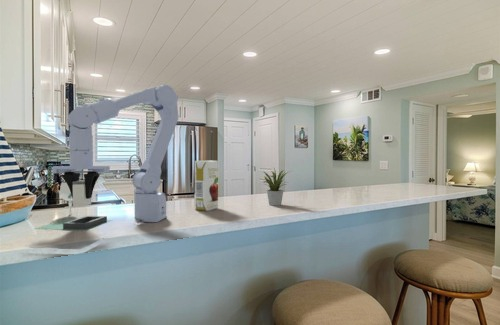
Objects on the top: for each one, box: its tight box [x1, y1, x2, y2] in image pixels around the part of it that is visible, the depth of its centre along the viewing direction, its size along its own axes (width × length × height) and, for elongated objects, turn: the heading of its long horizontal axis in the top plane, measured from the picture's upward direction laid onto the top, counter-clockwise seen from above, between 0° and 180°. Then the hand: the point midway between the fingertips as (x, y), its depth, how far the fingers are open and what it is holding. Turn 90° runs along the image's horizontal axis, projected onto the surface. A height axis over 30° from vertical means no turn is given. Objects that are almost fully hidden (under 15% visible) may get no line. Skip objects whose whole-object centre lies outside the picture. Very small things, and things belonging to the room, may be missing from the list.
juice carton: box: [194, 160, 219, 212], centre depth 110 cm, size 8×9×19 cm
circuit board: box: [34, 215, 113, 231], centre depth 81 cm, size 15×12×2 cm
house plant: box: [262, 168, 292, 207], centre depth 121 cm, size 14×14×16 cm
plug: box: [72, 179, 92, 208], centre depth 81 cm, size 5×3×7 cm, turn 8°
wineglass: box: [59, 181, 73, 216], centre depth 94 cm, size 6×6×12 cm
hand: (82, 198), depth 81 cm, fingers closed on plug, 3 cm apart
